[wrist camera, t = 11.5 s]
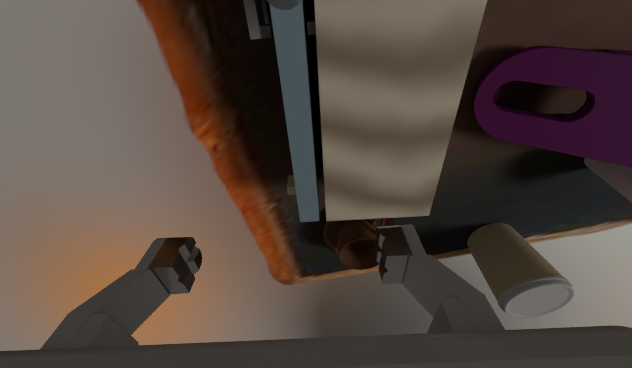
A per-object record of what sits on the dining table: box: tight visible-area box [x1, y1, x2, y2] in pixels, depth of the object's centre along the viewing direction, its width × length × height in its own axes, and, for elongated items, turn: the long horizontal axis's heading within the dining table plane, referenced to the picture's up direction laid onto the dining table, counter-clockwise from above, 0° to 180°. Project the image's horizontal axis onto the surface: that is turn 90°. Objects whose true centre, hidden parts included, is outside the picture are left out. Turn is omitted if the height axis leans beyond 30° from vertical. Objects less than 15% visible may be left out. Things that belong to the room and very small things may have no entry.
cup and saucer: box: [323, 218, 395, 270], centre depth 40 cm, size 12×12×6 cm
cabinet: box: [243, 0, 487, 221], centre depth 26 cm, size 25×17×9 cm
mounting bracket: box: [473, 46, 632, 167], centre depth 29 cm, size 10×9×19 cm
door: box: [267, 0, 319, 222], centre depth 26 cm, size 23×4×10 cm, turn 4°
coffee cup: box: [467, 223, 574, 318], centre depth 40 cm, size 9×9×12 cm
